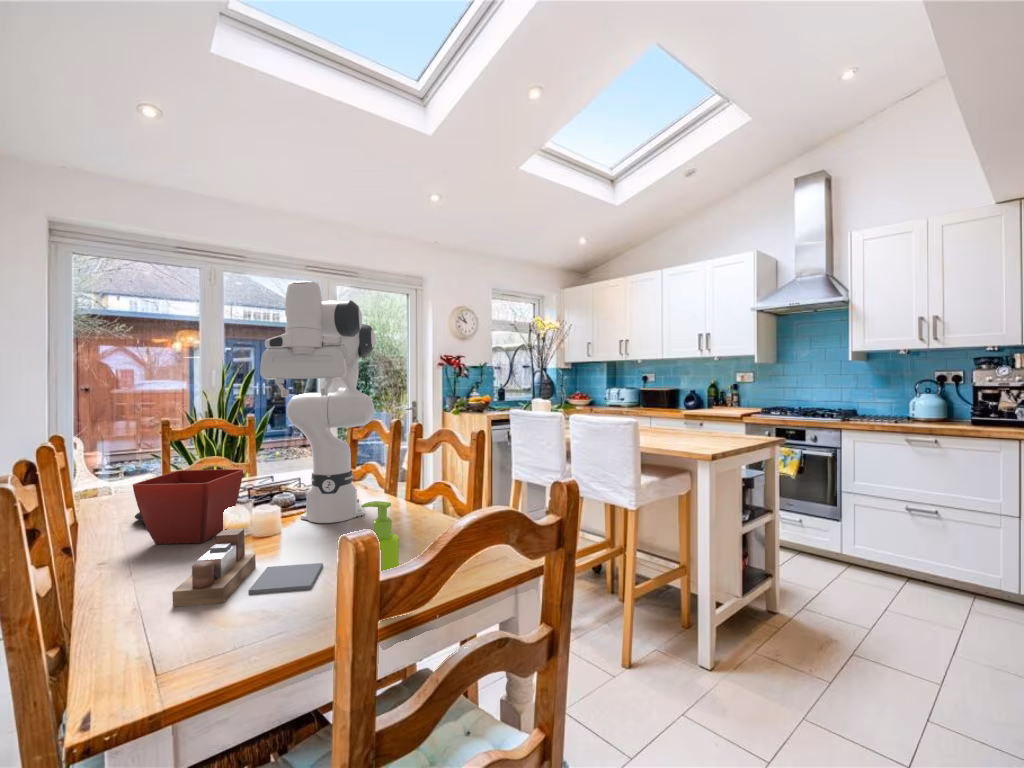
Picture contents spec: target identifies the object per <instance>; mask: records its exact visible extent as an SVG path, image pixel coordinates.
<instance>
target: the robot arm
mask: <svg viewBox="0 0 1024 768" xmlns="http://www.w3.org/2000/svg"><path fill="white" fill-rule="evenodd" d="M286 288H287V289H286V295H285V302H284V303H285V306H284V311H285V313H284V314H285V318H286V325H285V329H284V332H285V333H283V334H281V335H277V336H274V337H273V336H272V337H270V338H267V339H265V341H264V346H265V348H266V349H265V350H264V351H263V352H262V354H261V358H260V367H259V374H260V376H261V378H262V379H264V380H268V381H269V380H275V384H276V385H277V387H278V388H279V390H280V397H281V398H289V396H290V394H289V393H290V390H289V389H286V388H285V387H284V385H283V384H285V380H298V379H299V380H303V379H308V380H309V379H322V380H321V382H320V392H306V393H301V394H296V395H294V396H292V397H291V398H290V400H289V401H288V403H287V405H286V416H287V417H286V418H288V421H289V422H290V424H291V425H292V426H294V427H296V428H297V429H298V430H299V431H301V432H302V434H303V435H304V436H305V437H306V440H307V441H308V443H309V445H310V449H311V456H312V457H311V459H312V473H311V478H310V479H311V485H312V486H311V488H310V489H309V490H307V491H306V501H305V502H306V504H305V505H306V506H305V507H306V509H305V512H304V513H302V514H301V515H300V519H301V520H307V521H309V522H311V523H318V524H333V523H340V522H344V521H348V520H351V519H353V517H354V518H356V516H358V517H361V515H362V516H364V515H365V511H364V508H362V507H361V505H363V504H362V501H360V499H359V498H358V494H357V490H358V489H356V487H355V485H354V484H353V481H354V479H353V476H354V474H353V470H352V464H351V463H352V461H351V454H352V453H351V447H350V445H349V443H347V442H346V441H345V440H343V439H341V438H338V437H337V436H334V434H333V433H332V431H331V428H332V429H333V428H338V429H339V428H355V427H361V426H364V425H368V424H369V423H370V422H372V421H371V420H372V419H373V417H374V416H375V415H374V414H375V404H374V402H373V400H372V398H371V397H370V396H369V395H368V394H366V393H364V392H361V391H360V390H358V389H357V387H358V386H357V385H358V384H357V383H358V380H359V374H360V372H359V371H360V370H359V369H360V368H359V359H360V358H361V359H362V360H364V359H366V356H368V355H370V354H371V352H372V351H373V350H374V347H375V345H376V333H375V332H374V329H373V327H372V326H371V325H368V324H364V323H363V314H362V311H361V308H360V306H359V305H358V304H357V303H356V302H354V301H353V300H339V299H338V300H336V299H329V300H325V301H323V300H322V299H323V298H322V292H321V286H320V284H319V283H318V282H315V281H309V280H296V281H291V282H289V283H288V284H287V287H286Z"/></svg>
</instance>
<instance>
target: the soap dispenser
mask: <svg viewBox="0 0 1024 768" xmlns="http://www.w3.org/2000/svg"><path fill="white" fill-rule="evenodd" d="M391 506H392V502H389V501H388V502H387V501H380V500H379V501H378V500H375V501H373V500H372V501H369V502H365V503H363V504H362V505H361V507H362V508H363V509H364V508H377V517H376V518H375V519H374V520H373V526H372V527H373V528H372V531H374V532H375V533H376V535H377V537H378V539H379V542H380V550H381V571H383V570H387V569H390V568H394V567H397V566H399V567H400V564H399V559H400V558H399V554H400V553H399V535H397V534H395V533H392V529H393V528H392V526H393V525H392V519H391V518H390V517H389V516H388V508H389V507H391Z"/></svg>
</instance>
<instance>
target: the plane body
mask: <svg viewBox="0 0 1024 768" xmlns="http://www.w3.org/2000/svg"><path fill="white" fill-rule="evenodd" d="M215 544H231V545H236V564H235V565H234V566H233V567H232V568H231V569H230V570H229V571H228V572H227V573H226V574H225V575H224V576H223V577H222V578H218V574H214V563H213V562H212V561H205V562H200V563H195V564H193V565H191V575H190V576H189V577H187V578H186V579H185V580H184V581H183V582H182V583H181V584H179V585H178V586H177V587H176V588H175V589H173V591H172V607H174V608H176V607H177V606H179V607H187V606H200V605H213V604H224V603H225V602H226V601H227V599H229V597H230V596H231V595H232V594H233V593H234V592H235V590H236V589H238V587H239V586H240V585H241V584H242V583H243V581H244V580H246V578H247V577H248V576H249V574H250V573H251V572H252V571H253V570H254V569H255V568H256V565H257V564H256V562H257V561H256V553H245V552H246V551H245V528H235V529H234V528H232V529H226V530H223V531H221V532H220V533H219V534H217V535H215Z"/></svg>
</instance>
